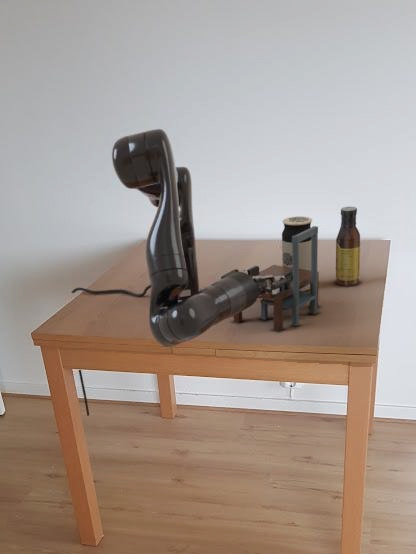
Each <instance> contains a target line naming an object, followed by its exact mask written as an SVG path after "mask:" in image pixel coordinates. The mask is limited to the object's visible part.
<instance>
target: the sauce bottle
mask: <svg viewBox="0 0 416 554" xmlns="http://www.w3.org/2000/svg"><path fill="white" fill-rule="evenodd" d="M357 213H358V208H357V207H356V206H343V207H342V208H340V217H341V219H340V220H341V223H340V227H339V231H338V233H337V236H336V239H335V280H336V284H337V285H341V286H347V287H351V286H354V285H358V284H359V282H360V281H359V280H360V275H361V272H360V271H361V233H360V230H359V229H358V227H357Z"/></svg>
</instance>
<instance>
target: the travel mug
mask: <svg viewBox="0 0 416 554" xmlns="http://www.w3.org/2000/svg"><path fill="white" fill-rule="evenodd" d="M312 222H313V219H312V217H309V216H303V215H302V216H297V215H296V216H290V217H286V218H284V219H283V220H282V224H283V228H284V229H283V230H282V232H281V255H282V256H281V258H282V259H281V260H282V263H281V266H284V267H291V268H292V236H295V235H297V234H299V233H301V232H303V231H305V230H307V229H310V228H312ZM311 237H312V236H311ZM311 237H309V238H307V239H305V240H303V241H301V242H299V269H304V270H311ZM299 291H304V292H308V291H310V284H308V285H307V286H305V287H303V288H302V289H300V290H299Z"/></svg>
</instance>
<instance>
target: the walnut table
mask: <svg viewBox="0 0 416 554" xmlns="http://www.w3.org/2000/svg"><path fill="white" fill-rule="evenodd" d="M288 271H292V268H291V267H284V266H282V265H278V264H277V265H276V264H272V265H271V266H269V267H267V268H265V269H263V270H261V271H259V276H260V277H261V276H267V275H272V276H273V277H276V276H280V275H282V274H284V273H286V272H288ZM319 272H320V271H318V270H317V294H318V295H319V283H320V281H319V279H320V278H319V277H320V273H319ZM278 281H279V280H276V281H275V283H276V282H278ZM266 282H267V287H270V285H269V280H266ZM308 284H310V289H309V292H310V293H311V270H304V269H299V290H300V289H302V288H303V287H305V286H307V285H308ZM291 294H293V281H292V282H291V290H290V291H288V292H286V293H284V294H282V295H280V296H278V297H276V298H271V294H270V293H267V294H263V295H261V296H258V298H257V299H259V300H262V299H266V300H271V301H273V302H274V306H273V330H274V331H275V332H281V331H282V330H284V317H283V315H284V313H283V309H284V308H283V305H282V300H283V299H284V298H286V297H288V296H290V295H291ZM310 307H311V301H310V302H309V308H310ZM317 308H319V296H318V297H317ZM233 322H234V323H237V324H238V323H242V322H243V311H241V312H240V313H238V314H236V315H234V316H233Z"/></svg>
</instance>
